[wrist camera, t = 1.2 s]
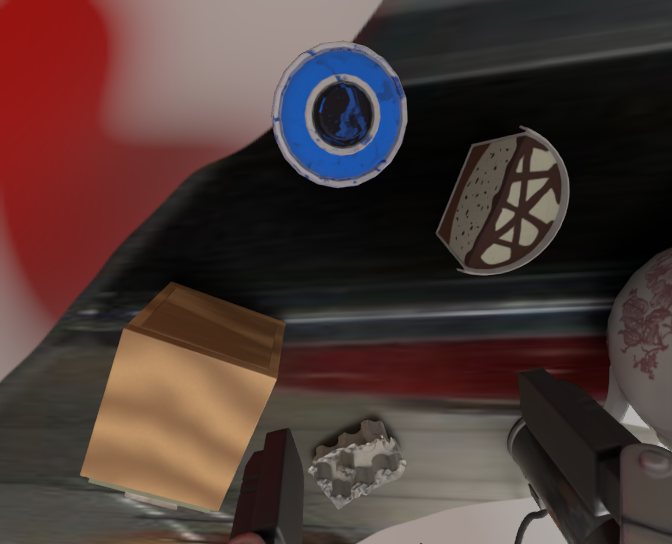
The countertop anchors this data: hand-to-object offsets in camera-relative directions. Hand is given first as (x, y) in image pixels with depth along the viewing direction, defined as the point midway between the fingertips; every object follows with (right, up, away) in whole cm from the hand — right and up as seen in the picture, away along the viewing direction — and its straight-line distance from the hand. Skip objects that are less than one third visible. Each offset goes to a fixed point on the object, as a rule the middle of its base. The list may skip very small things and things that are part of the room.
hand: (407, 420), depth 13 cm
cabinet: (-17, -5, +30) cm, 35 cm away
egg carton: (0, -18, +36) cm, 40 cm away
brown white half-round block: (+12, +13, +26) cm, 32 cm away
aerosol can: (-3, +19, +23) cm, 30 cm away
